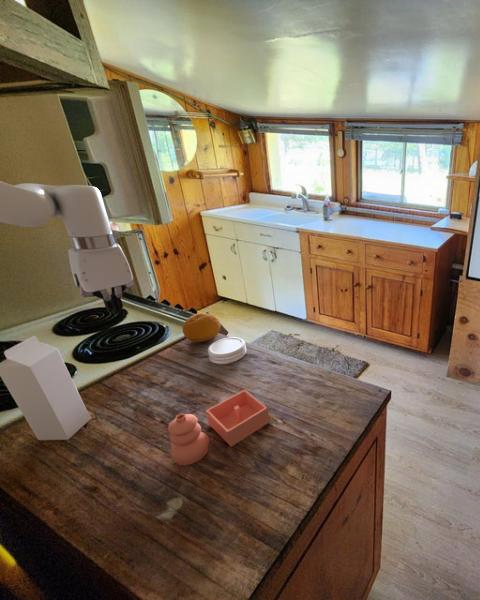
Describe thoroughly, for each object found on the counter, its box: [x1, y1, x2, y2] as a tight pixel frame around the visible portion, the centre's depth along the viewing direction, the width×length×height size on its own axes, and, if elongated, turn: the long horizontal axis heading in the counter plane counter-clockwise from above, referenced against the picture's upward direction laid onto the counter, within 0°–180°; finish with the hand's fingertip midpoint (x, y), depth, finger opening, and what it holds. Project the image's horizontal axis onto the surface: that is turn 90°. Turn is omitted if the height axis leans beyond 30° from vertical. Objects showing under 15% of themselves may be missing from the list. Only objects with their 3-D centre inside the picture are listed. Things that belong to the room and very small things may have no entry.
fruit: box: [182, 312, 222, 343], centre depth 103 cm, size 10×10×8 cm
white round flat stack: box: [207, 336, 248, 365], centre depth 96 cm, size 10×10×4 cm
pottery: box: [167, 389, 271, 466], centre depth 68 cm, size 18×10×10 cm, turn 142°
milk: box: [0, 335, 92, 441], centre depth 66 cm, size 6×6×22 cm
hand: (116, 312), depth 83 cm, fingers closed
